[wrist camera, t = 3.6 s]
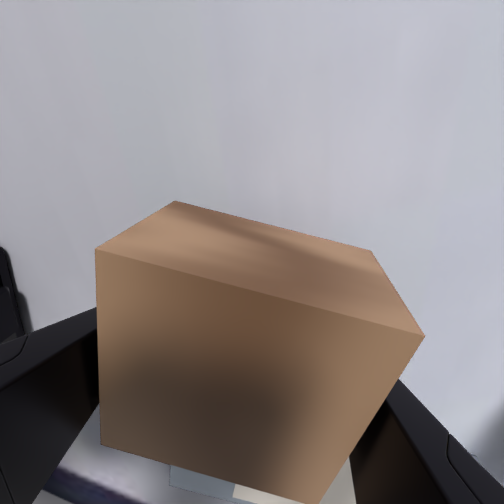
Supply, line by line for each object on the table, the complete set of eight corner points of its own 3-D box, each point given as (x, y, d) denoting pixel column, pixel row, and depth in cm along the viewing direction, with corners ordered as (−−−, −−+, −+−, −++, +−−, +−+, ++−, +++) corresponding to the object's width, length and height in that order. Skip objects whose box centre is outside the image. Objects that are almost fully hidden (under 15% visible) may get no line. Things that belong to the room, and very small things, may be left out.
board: (172, 475, 19) (168, 486, 18) (179, 385, 15) (174, 396, 15) (407, 536, 18) (411, 550, 18) (475, 456, 14) (484, 470, 14)
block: (160, 347, 12) (100, 444, 8) (174, 200, 9) (94, 248, 5) (309, 388, 12) (316, 507, 8) (371, 250, 9) (425, 335, 5)
